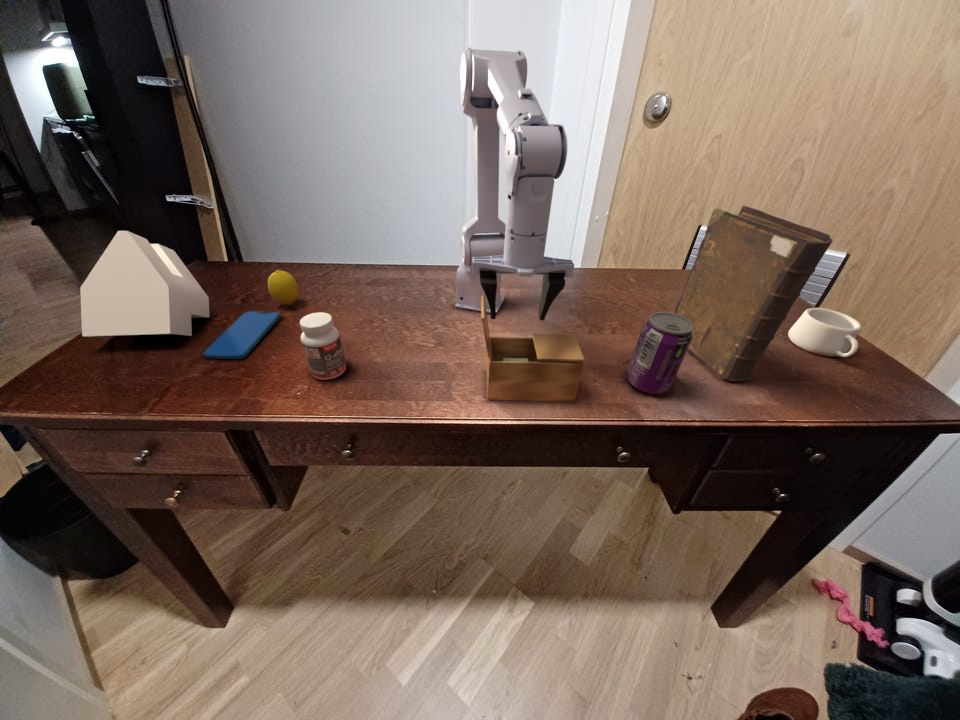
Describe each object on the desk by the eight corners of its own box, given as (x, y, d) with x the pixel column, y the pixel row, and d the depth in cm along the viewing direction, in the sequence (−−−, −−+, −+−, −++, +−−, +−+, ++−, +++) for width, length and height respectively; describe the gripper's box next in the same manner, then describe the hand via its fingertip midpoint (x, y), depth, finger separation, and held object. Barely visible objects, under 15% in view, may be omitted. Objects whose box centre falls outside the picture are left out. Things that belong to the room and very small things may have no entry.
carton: (487, 400, 57) (489, 357, 52) (486, 372, 63) (488, 332, 58) (574, 401, 58) (585, 359, 53) (566, 374, 63) (575, 334, 58)
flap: (491, 358, 52) (488, 358, 52) (489, 333, 58) (487, 333, 58) (484, 317, 48) (481, 318, 48) (483, 294, 54) (481, 295, 54)
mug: (775, 331, 77) (790, 305, 73) (819, 331, 77) (836, 306, 74) (819, 365, 67) (839, 338, 64) (869, 366, 68) (892, 339, 64)
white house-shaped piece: (210, 337, 75) (206, 250, 75) (170, 333, 64) (166, 230, 64) (136, 340, 73) (132, 250, 73) (82, 336, 62) (77, 230, 62)
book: (753, 383, 63) (844, 237, 48) (716, 386, 62) (797, 238, 47) (693, 331, 76) (750, 204, 61) (662, 333, 75) (711, 205, 60)
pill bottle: (336, 383, 59) (323, 331, 53) (304, 378, 60) (287, 327, 54) (352, 362, 64) (341, 312, 58) (322, 358, 64) (308, 308, 59)
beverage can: (673, 400, 58) (702, 337, 51) (627, 393, 59) (650, 331, 52) (664, 373, 64) (690, 313, 57) (622, 367, 65) (642, 307, 58)
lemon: (268, 307, 78) (256, 272, 74) (288, 297, 83) (278, 263, 78) (288, 313, 77) (277, 277, 72) (308, 302, 81) (298, 267, 76)
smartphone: (199, 354, 63) (245, 310, 75) (202, 359, 63) (247, 314, 75) (242, 356, 63) (281, 312, 75) (244, 360, 63) (283, 316, 75)
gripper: (472, 237, 46) (471, 328, 54) (586, 241, 47) (567, 331, 55) (473, 221, 52) (471, 306, 60) (574, 224, 52) (559, 308, 60)
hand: (517, 316), depth 58 cm, fingers open, 7 cm apart
